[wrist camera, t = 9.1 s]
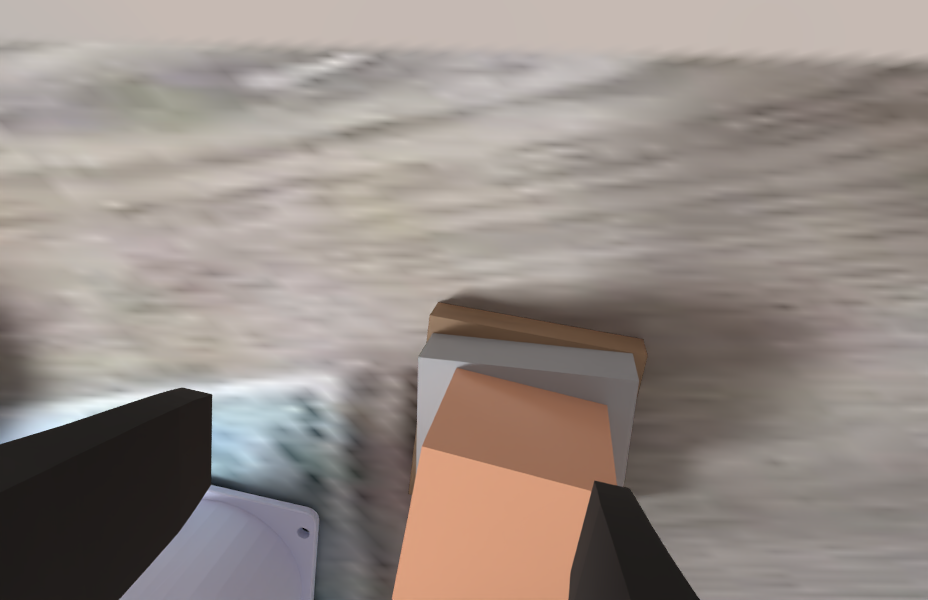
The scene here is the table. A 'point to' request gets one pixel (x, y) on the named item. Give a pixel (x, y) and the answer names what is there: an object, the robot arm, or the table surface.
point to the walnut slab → (525, 337)
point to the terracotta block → (502, 492)
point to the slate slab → (533, 379)
